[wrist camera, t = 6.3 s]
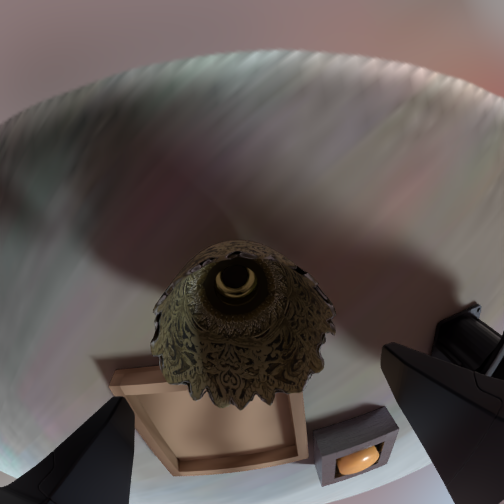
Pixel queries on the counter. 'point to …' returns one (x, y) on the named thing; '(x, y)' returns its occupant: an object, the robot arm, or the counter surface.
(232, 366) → the ornate lamp shade
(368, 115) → the counter surface
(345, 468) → the button
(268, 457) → the wooden tray
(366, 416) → the panel
